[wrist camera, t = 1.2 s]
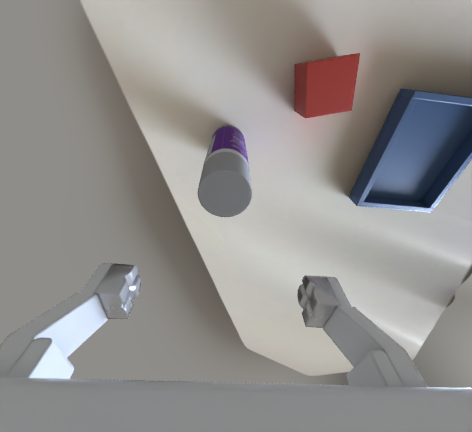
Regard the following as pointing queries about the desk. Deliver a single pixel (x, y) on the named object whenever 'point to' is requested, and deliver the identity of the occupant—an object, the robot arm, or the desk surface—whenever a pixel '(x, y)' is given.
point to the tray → (417, 152)
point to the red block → (325, 85)
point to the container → (226, 174)
